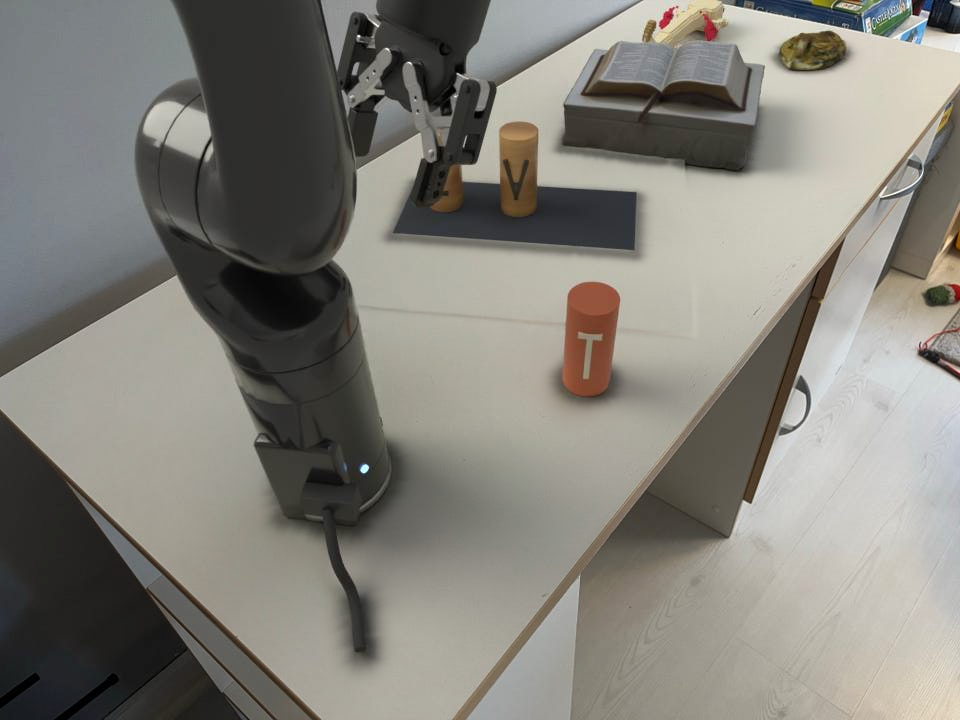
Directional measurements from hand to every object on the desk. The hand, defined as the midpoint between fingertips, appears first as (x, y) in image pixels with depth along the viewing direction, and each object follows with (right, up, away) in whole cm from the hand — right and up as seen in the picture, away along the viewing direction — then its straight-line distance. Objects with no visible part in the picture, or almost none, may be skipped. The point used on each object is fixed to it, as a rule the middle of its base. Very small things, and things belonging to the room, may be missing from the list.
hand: (387, 179), depth 57 cm
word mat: (+12, +3, +30) cm, 32 cm away
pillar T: (+17, -16, +10) cm, 26 cm away
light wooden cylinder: (+12, +4, +30) cm, 33 cm away
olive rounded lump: (+61, +35, +59) cm, 92 cm away
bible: (+33, +18, +44) cm, 58 cm away
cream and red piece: (+40, +38, +63) cm, 84 cm away
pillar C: (+3, +5, +31) cm, 32 cm away
